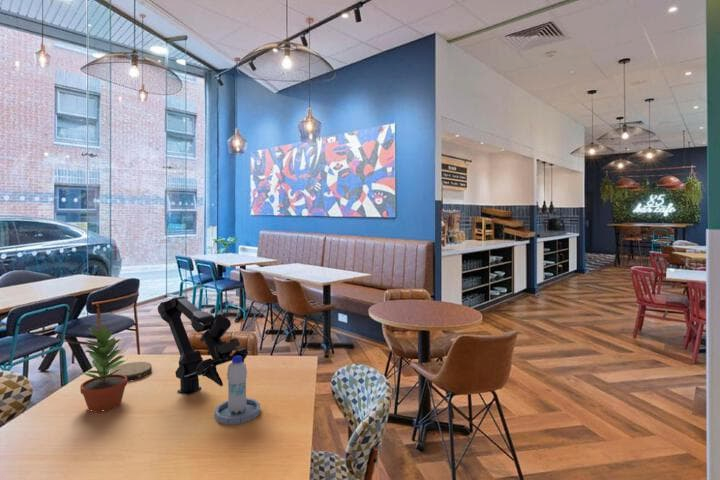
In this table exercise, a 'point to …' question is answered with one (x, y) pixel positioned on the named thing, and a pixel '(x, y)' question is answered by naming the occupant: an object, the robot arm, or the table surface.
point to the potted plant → (103, 373)
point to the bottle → (237, 385)
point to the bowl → (232, 419)
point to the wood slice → (133, 370)
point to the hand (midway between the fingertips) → (233, 381)
